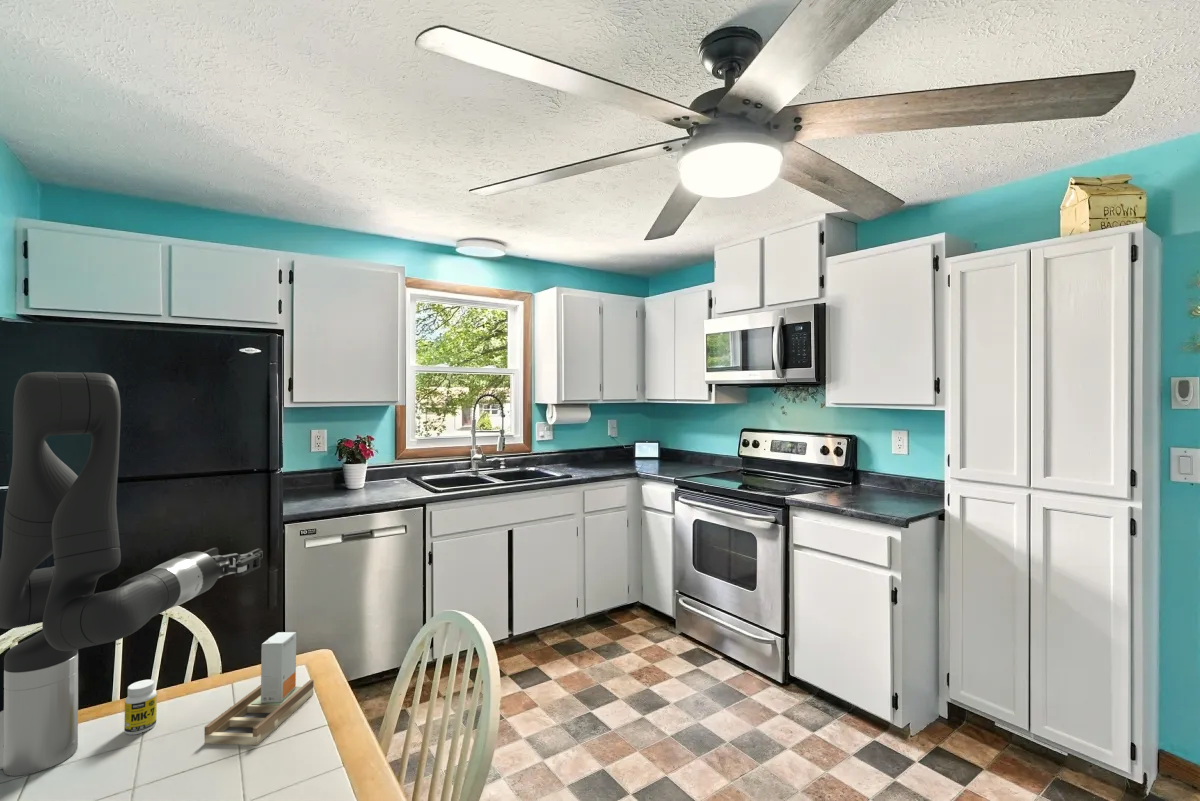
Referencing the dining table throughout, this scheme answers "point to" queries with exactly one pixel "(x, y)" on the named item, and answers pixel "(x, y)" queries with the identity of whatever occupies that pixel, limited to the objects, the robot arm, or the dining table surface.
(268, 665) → the skincare box
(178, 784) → the dining table surface
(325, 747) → the dining table surface
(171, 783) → the dining table surface
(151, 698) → the supplement bottle
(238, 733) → the board
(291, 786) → the dining table surface
